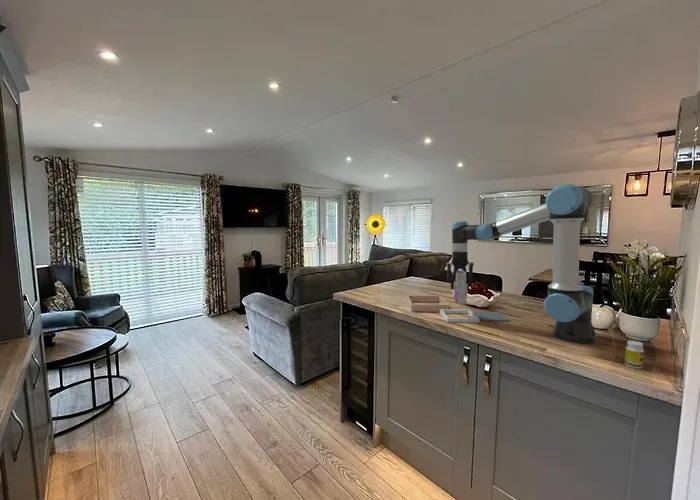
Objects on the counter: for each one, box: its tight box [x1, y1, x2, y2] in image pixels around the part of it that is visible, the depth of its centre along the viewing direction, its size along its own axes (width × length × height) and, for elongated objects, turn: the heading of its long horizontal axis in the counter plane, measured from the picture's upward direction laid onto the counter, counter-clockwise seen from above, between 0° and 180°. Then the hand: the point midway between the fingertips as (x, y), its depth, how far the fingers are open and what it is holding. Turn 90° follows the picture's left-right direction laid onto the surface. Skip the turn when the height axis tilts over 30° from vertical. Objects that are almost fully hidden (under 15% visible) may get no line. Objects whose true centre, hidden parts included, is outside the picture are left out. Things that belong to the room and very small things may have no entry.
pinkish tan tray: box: [406, 294, 450, 313], centre depth 184 cm, size 22×21×4 cm
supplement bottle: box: [624, 339, 645, 370], centre depth 107 cm, size 5×5×8 cm
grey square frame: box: [439, 308, 480, 323], centre depth 163 cm, size 16×16×2 cm
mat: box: [472, 311, 511, 322], centre depth 163 cm, size 14×14×1 cm
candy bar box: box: [453, 269, 467, 305], centre depth 161 cm, size 11×5×16 cm, turn 169°
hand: (459, 295), depth 161 cm, fingers closed on candy bar box, 5 cm apart
